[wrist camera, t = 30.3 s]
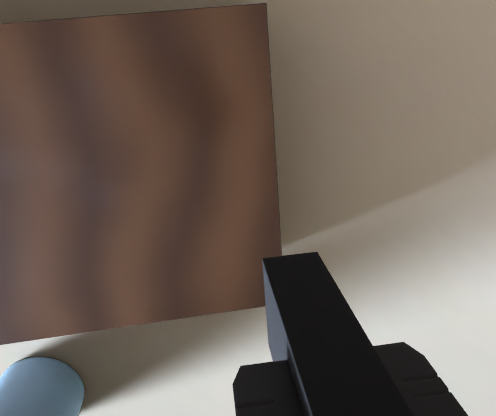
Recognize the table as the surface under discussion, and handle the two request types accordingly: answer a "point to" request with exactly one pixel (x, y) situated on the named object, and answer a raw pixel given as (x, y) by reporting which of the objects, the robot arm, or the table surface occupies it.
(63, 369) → the canister
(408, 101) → the table surface
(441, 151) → the table surface
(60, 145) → the chest lid
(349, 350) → the robot arm
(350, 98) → the table surface
